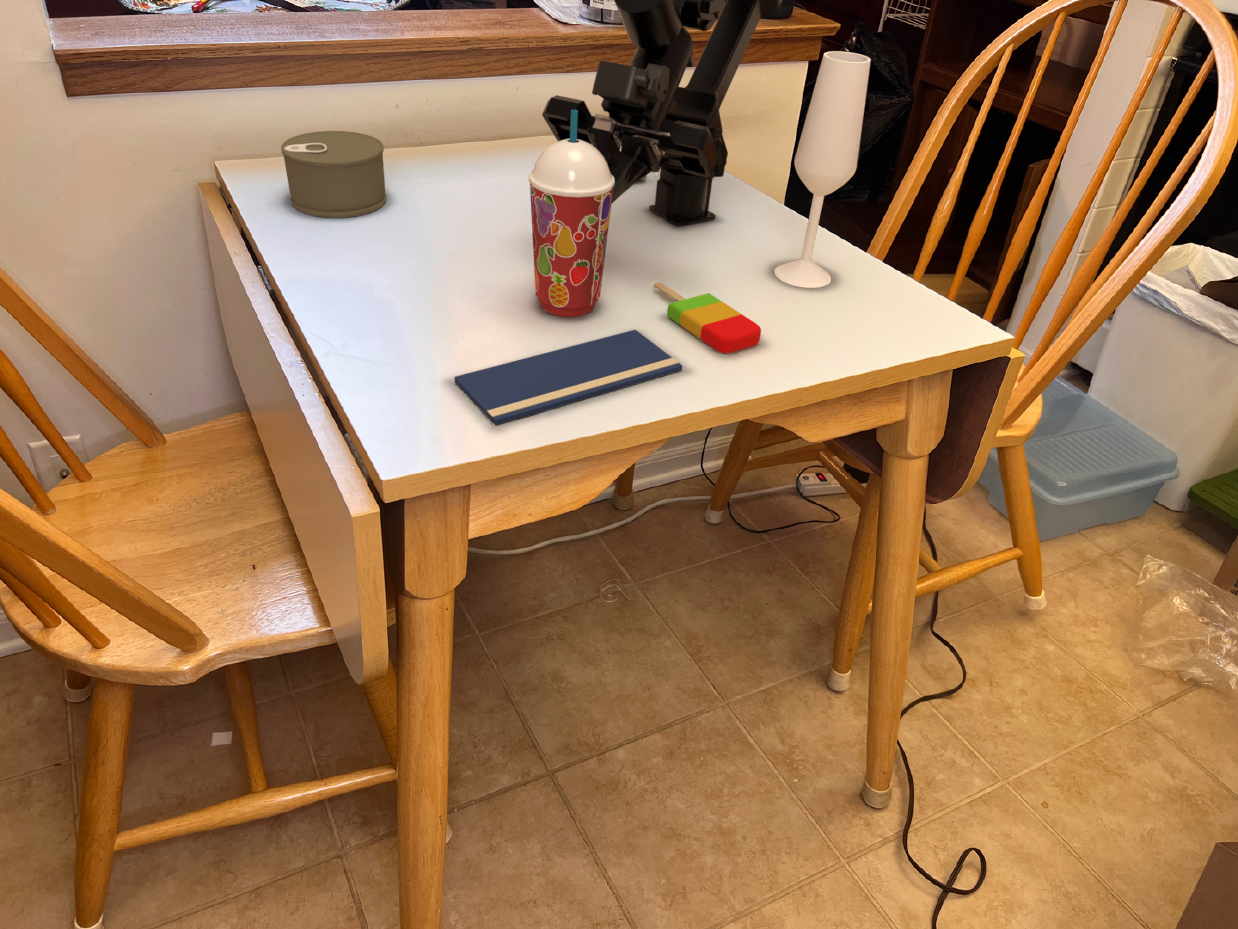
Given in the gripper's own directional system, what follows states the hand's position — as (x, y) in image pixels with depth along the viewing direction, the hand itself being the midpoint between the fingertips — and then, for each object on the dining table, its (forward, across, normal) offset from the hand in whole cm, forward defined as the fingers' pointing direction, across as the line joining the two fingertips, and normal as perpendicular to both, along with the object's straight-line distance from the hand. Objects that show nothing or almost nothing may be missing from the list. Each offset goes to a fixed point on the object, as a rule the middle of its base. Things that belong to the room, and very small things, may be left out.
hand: (600, 206), depth 96 cm
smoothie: (+11, 0, +2) cm, 11 cm away
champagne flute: (-5, +19, +17) cm, 26 cm away
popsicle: (+8, +13, +5) cm, 16 cm away
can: (+4, -38, +8) cm, 39 cm away
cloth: (+20, +7, -7) cm, 22 cm away
